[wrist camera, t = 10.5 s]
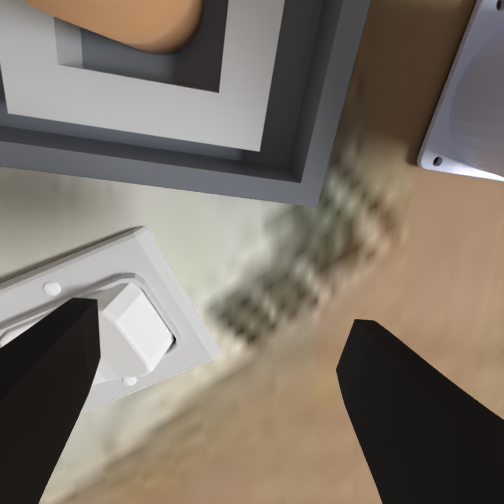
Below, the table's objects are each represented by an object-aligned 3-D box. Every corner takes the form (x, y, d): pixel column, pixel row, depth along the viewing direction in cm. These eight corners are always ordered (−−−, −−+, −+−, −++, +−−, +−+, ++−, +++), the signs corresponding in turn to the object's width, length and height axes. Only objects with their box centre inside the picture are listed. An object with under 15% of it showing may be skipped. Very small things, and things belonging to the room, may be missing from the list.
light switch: (226, 383, 21) (46, 456, 21) (222, 340, 25) (69, 402, 25) (138, 244, 16) (-93, 342, 16) (149, 215, 20) (-40, 296, 20)
